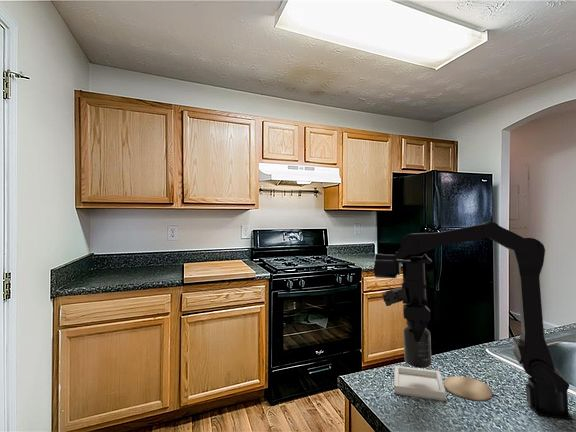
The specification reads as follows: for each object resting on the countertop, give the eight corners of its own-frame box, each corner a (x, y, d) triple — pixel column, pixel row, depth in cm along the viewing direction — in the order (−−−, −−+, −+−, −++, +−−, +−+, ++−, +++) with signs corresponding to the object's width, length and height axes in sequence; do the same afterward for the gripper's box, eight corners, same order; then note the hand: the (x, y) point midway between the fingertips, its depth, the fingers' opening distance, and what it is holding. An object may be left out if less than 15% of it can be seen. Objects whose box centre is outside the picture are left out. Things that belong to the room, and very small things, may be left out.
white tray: (439, 378, 86) (439, 371, 86) (446, 401, 74) (445, 392, 75) (395, 372, 90) (394, 365, 90) (394, 393, 79) (394, 385, 79)
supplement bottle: (399, 360, 85) (397, 316, 85) (419, 356, 87) (417, 313, 87) (416, 370, 78) (414, 323, 79) (437, 366, 80) (435, 320, 81)
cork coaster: (485, 381, 83) (485, 379, 83) (498, 403, 73) (498, 401, 73) (441, 376, 87) (441, 374, 87) (447, 396, 77) (446, 393, 77)
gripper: (384, 273, 95) (386, 324, 94) (381, 284, 77) (383, 346, 77) (423, 274, 91) (425, 327, 90) (429, 285, 74) (432, 351, 73)
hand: (416, 336), depth 83 cm, fingers closed on supplement bottle, 7 cm apart
